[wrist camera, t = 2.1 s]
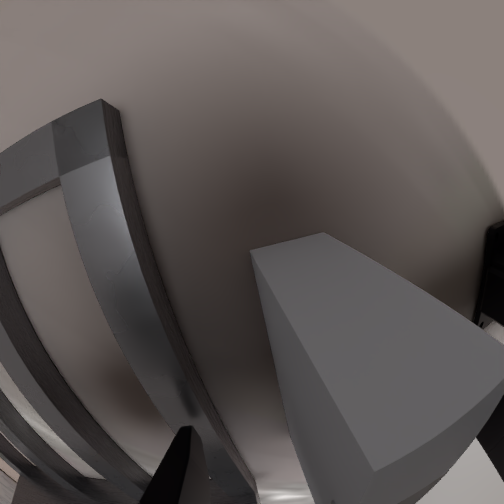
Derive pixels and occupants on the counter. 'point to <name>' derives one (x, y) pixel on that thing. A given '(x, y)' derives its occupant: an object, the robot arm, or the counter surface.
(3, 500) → the syrup box
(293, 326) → the panel
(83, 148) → the rack
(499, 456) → the robot arm
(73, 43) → the counter surface
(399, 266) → the counter surface
